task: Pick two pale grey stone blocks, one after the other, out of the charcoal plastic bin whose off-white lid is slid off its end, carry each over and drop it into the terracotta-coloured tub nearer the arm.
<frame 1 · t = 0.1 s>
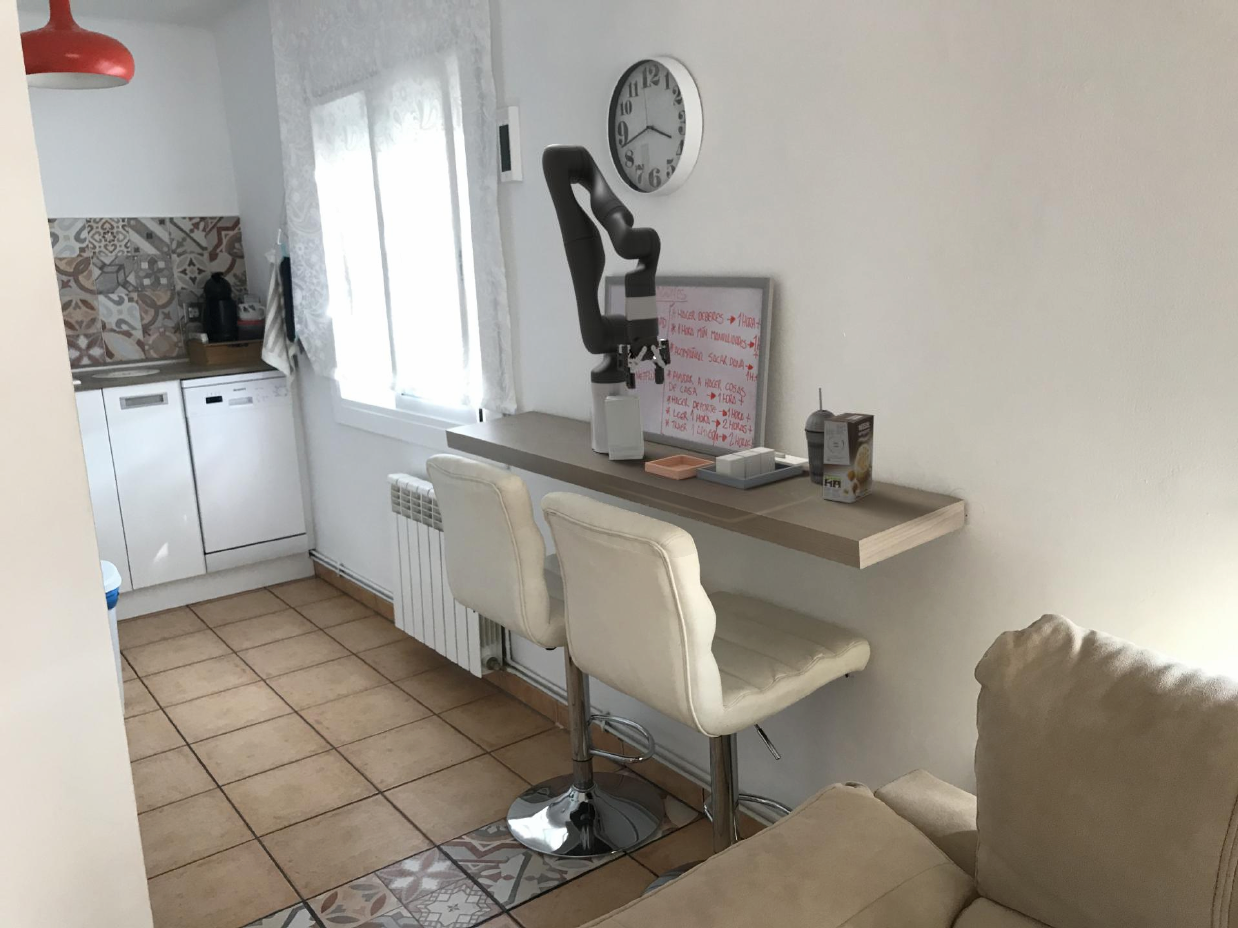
hand: (645, 386, 231), 17 cm above the countertop, tool pointing down, fingers open, 8 cm apart
beverage cup: (821, 484, 206), on the countertop
skincare box: (625, 458, 236), on the countertop
gravel bin: (749, 478, 213), on the countertop
stone a: (730, 480, 209), point 1 cm above the countertop, touching gravel bin
dump tub: (680, 473, 219), on the countertop
stone b: (746, 476, 212), point 1 cm above the countertop, touching gravel bin
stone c: (761, 472, 215), point 1 cm above the countertop, touching gravel bin
coffee box: (847, 497, 196), on the countertop
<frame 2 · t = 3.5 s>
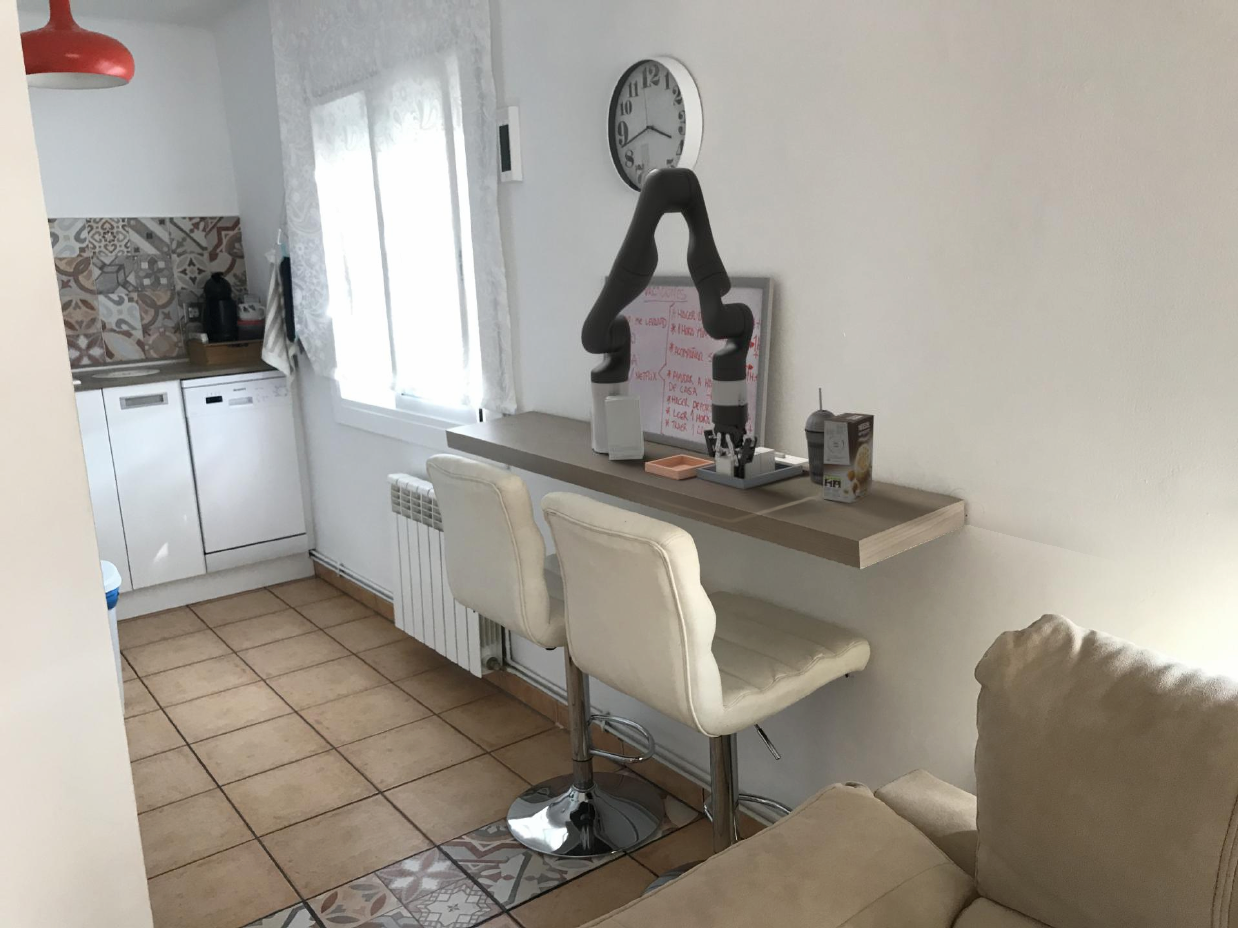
hand: (730, 479, 209), 1 cm above the countertop, tool pointing down, fingers closed on stone a, 4 cm apart
stone a: (730, 480, 209), point 1 cm above the countertop, touching gravel bin, gripper
everything else where it was.
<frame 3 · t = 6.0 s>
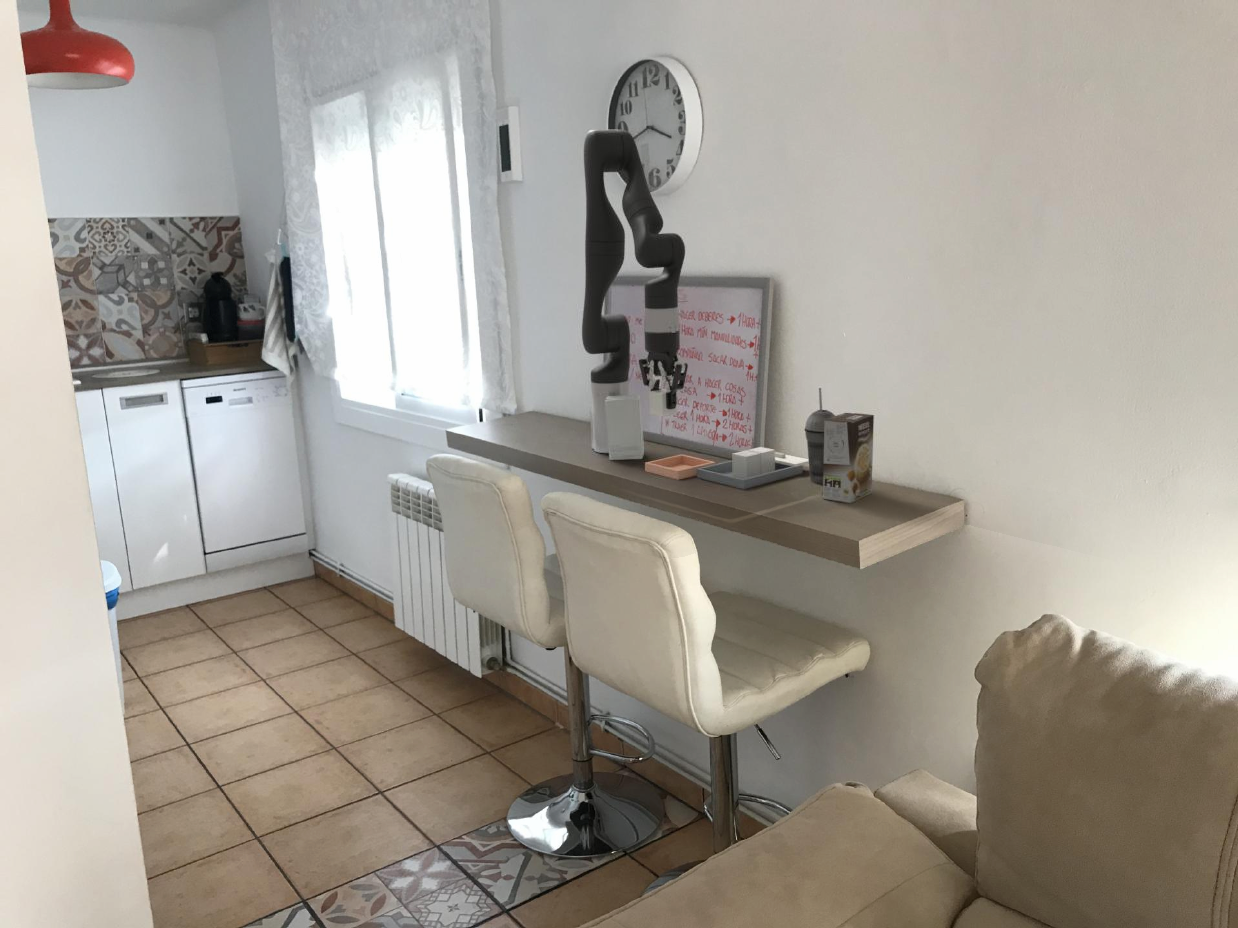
hand: (663, 407, 216), 15 cm above the countertop, tool pointing down, fingers closed on stone a, 4 cm apart
stone a: (663, 413, 216), point 13 cm above the countertop, touching gripper
everything else where it was.
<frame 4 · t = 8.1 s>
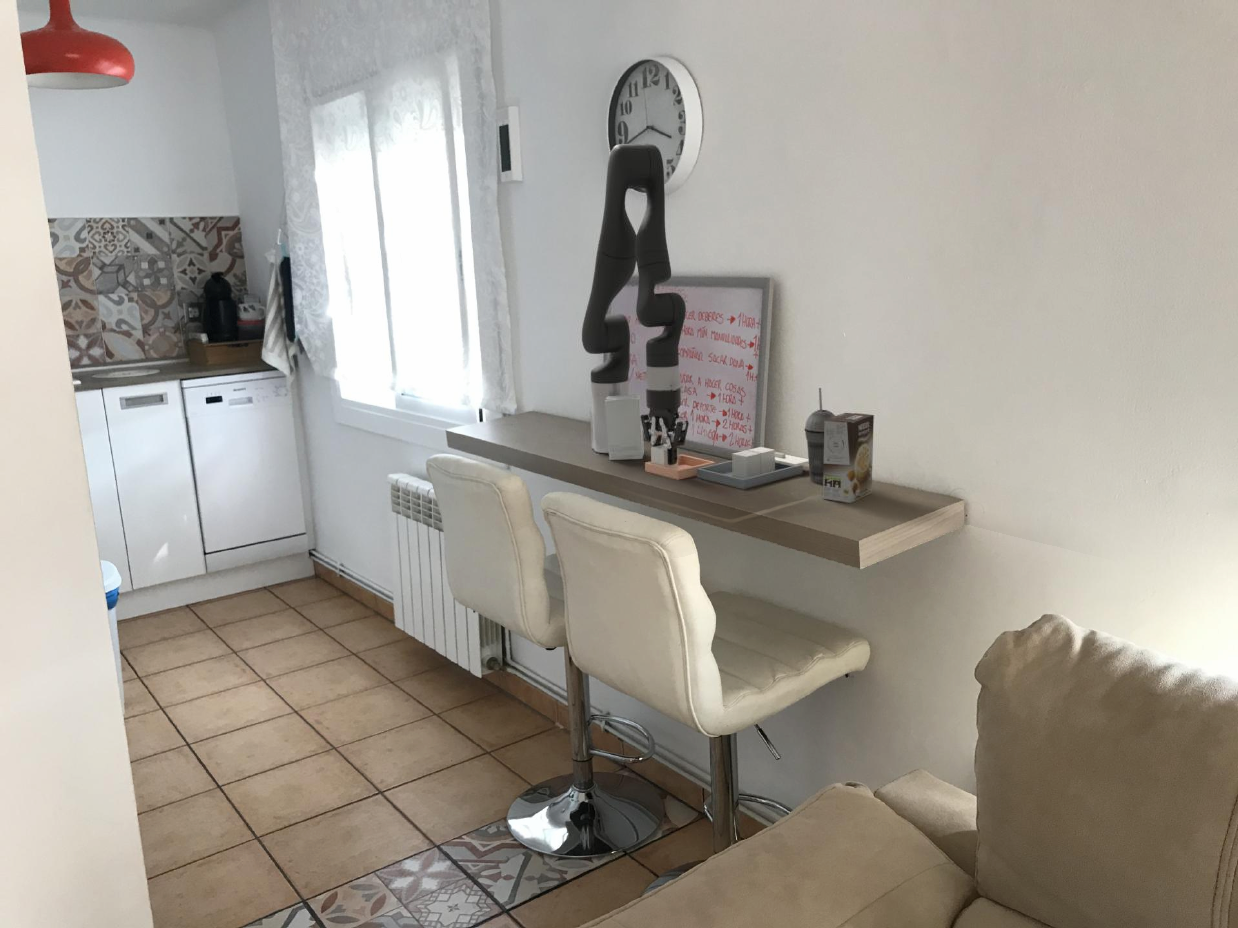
hand: (665, 462, 219), 3 cm above the countertop, tool pointing down, fingers closed on stone a, 4 cm apart
stone a: (664, 469, 219), point 1 cm above the countertop, touching gripper
everything else where it was.
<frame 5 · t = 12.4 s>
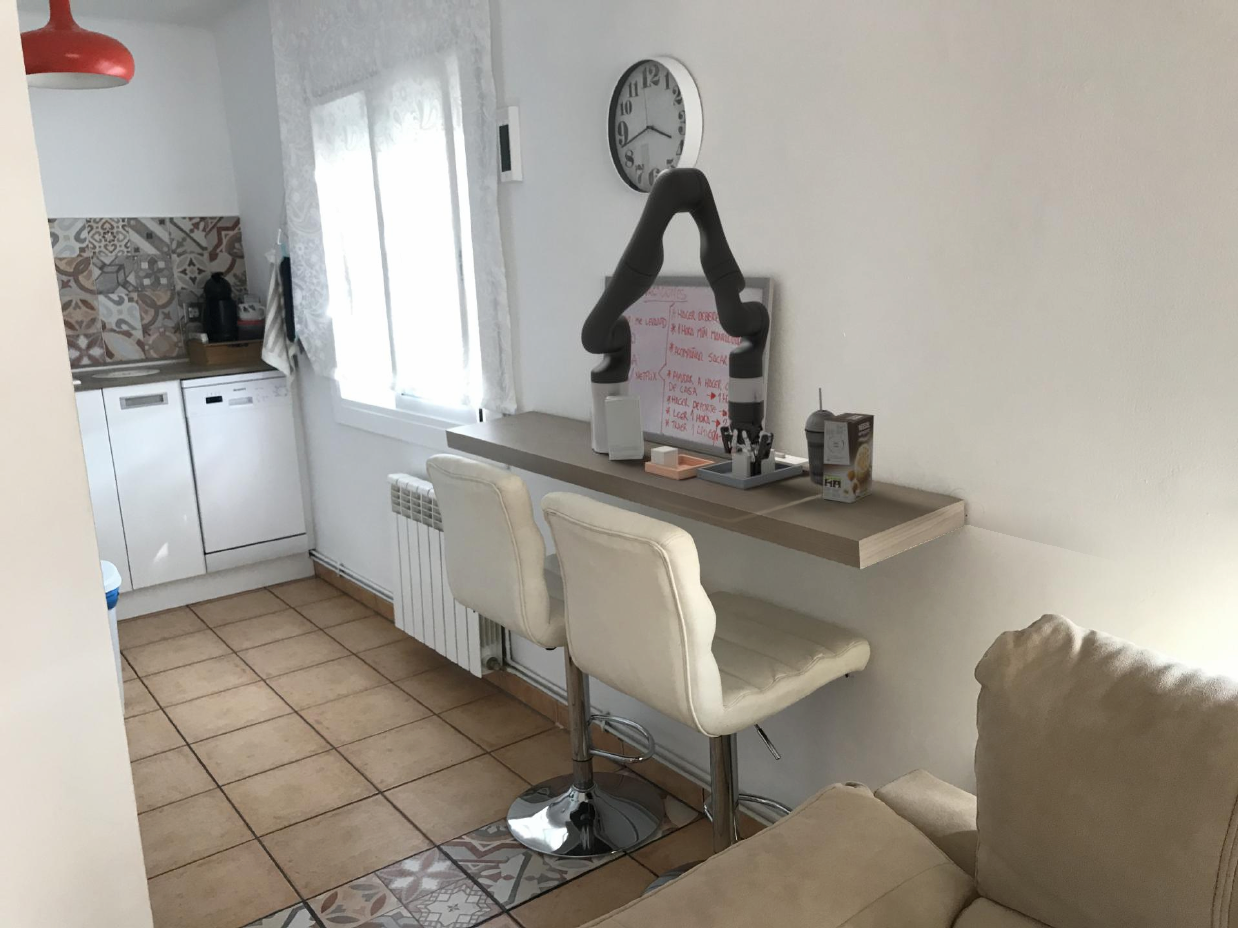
hand: (746, 475, 212), 1 cm above the countertop, tool pointing down, fingers closed on stone b, 4 cm apart
stone a: (664, 470, 219), point 1 cm above the countertop, touching dump tub
stone b: (746, 476, 212), point 1 cm above the countertop, touching gravel bin, gripper
everything else where it was.
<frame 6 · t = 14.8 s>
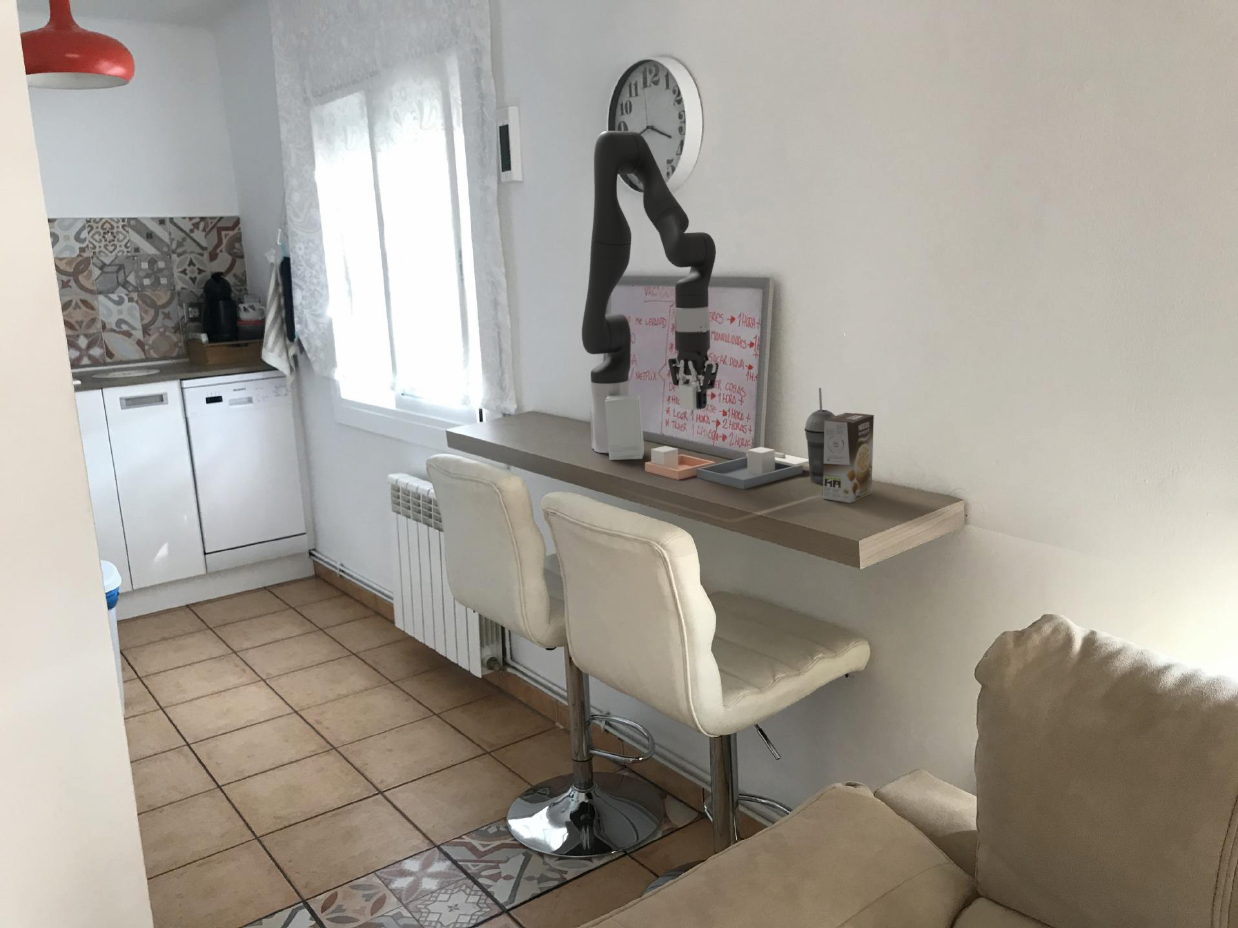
hand: (693, 406, 215), 15 cm above the countertop, tool pointing down, fingers closed on stone b, 4 cm apart
stone b: (693, 407, 215), point 15 cm above the countertop, touching gripper
everything else where it was.
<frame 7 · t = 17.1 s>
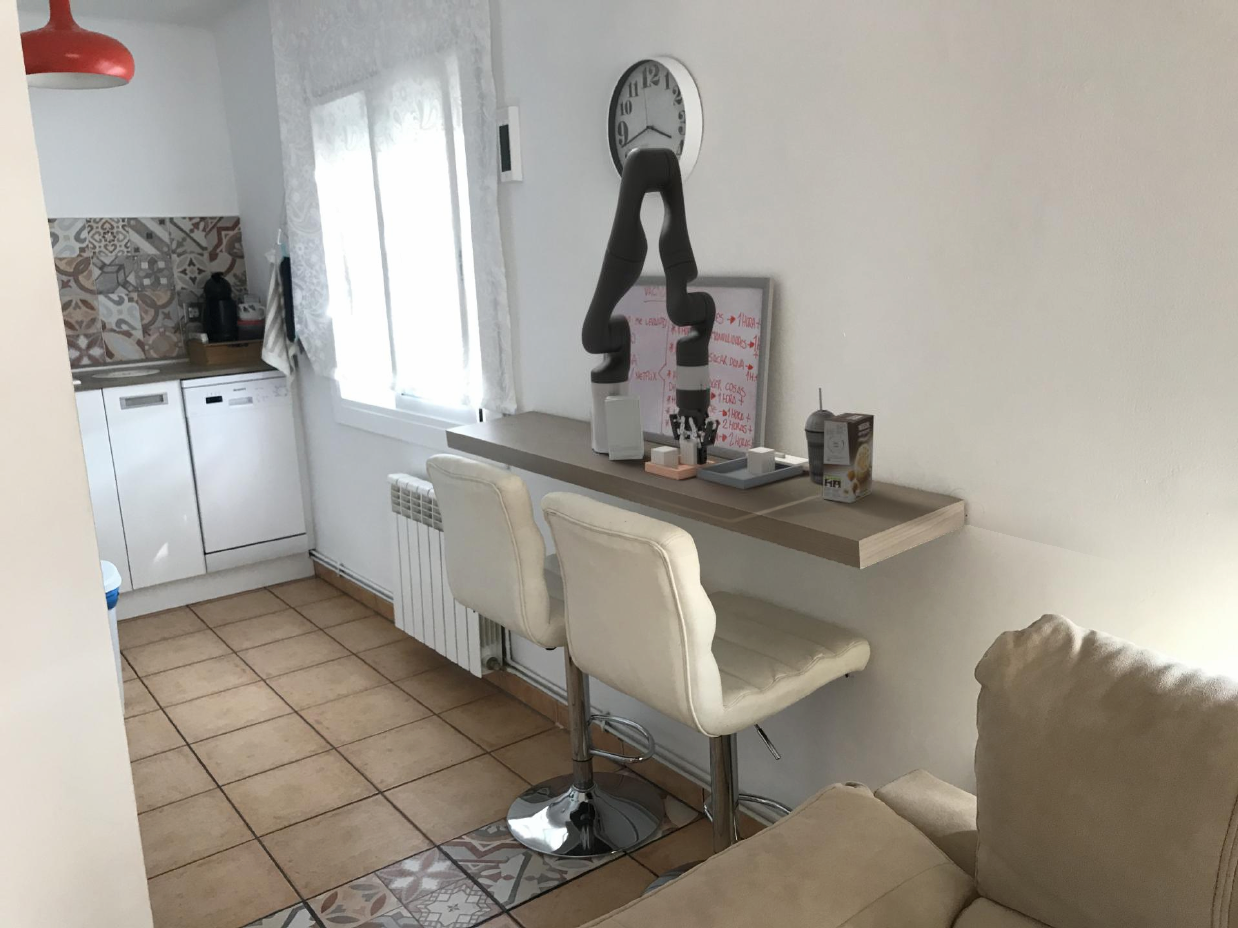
hand: (694, 461, 218), 3 cm above the countertop, tool pointing down, fingers closed on stone b, 4 cm apart
stone b: (694, 462, 218), point 2 cm above the countertop, touching gripper
everything else where it was.
when the fingers open (3 cm above the countertop, at t = 17.1 s): stone b drops 2 cm, resting on dump tub.
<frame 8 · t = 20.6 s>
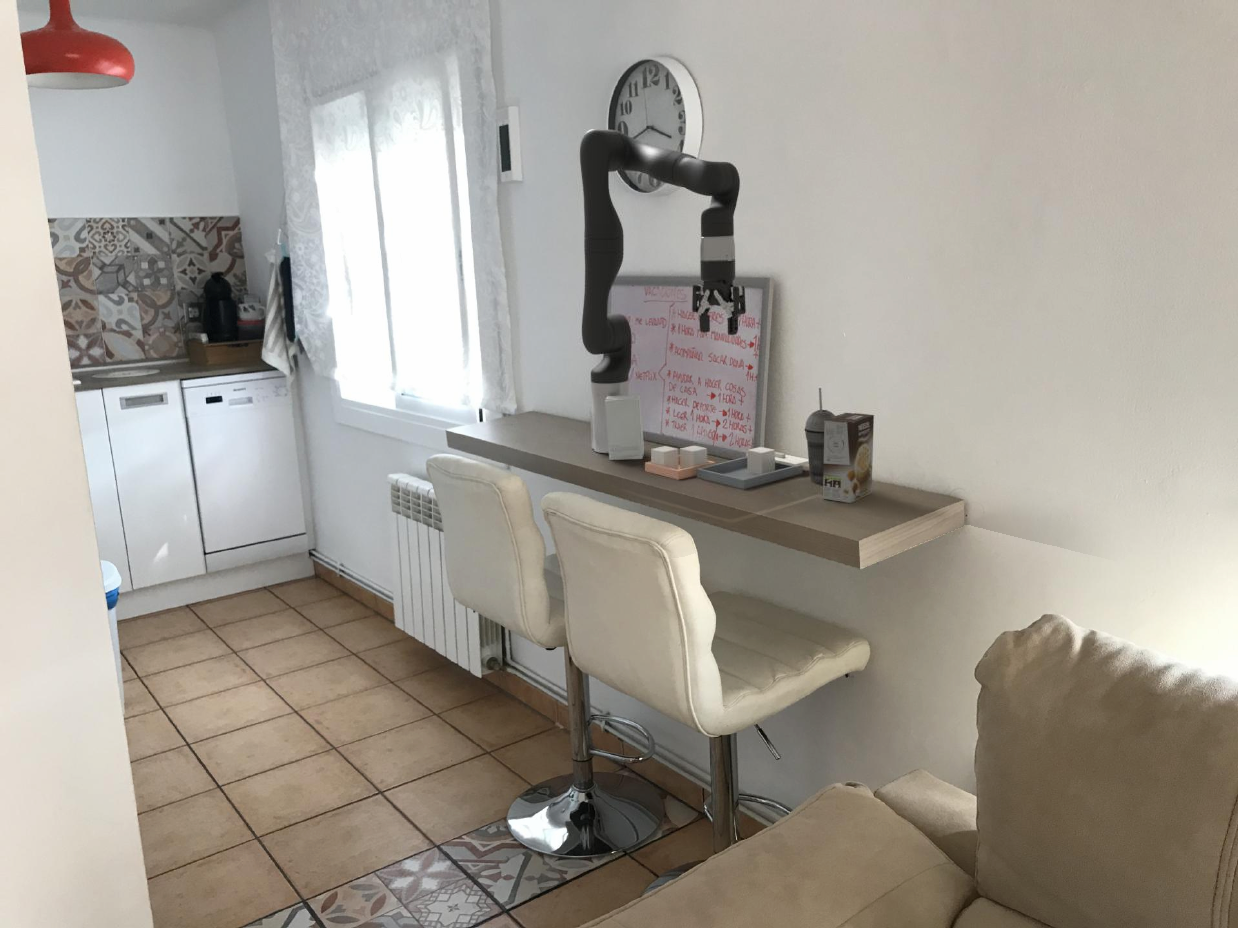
hand: (718, 333, 217), 30 cm above the countertop, tool pointing down, fingers open, 8 cm apart
stone b: (693, 470, 219), point 1 cm above the countertop, touching dump tub
everything else where it was.
at the end: stone a inside the target area on the dump tub (3.3 cm from its centre), point 0.6 cm above the dump tub's base; stone b inside the target area on the dump tub (3.1 cm from its centre), point 0.6 cm above the dump tub's base; the gripper is holding nothing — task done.
